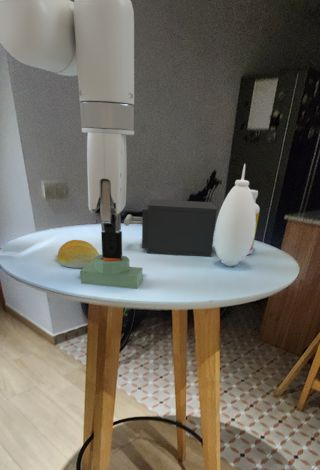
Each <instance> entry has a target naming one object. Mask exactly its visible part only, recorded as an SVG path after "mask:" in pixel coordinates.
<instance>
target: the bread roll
mask: <svg viewBox="0 0 320 470" xmlns="http://www.w3.org/2000/svg"><path fill="white" fill-rule="evenodd" d="M99 255H100V254H99V252H98V250H97V249H96V247H94V245H93V244H91V243H90V242H88V241H85V240H82V239H71V240H68V241H66V242H65V243H63V244H62V245H61V246H60V247H59V249H58V252H57V257H56V258H57V259H56V261H57V263H58V264H59V265H60V266H62V267H65V268H70V269H83V268H84V267H85V266H86V265H87V264H88V263H93V264H94V258H95V257H96V256H99Z"/></svg>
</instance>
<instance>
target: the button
mask: <svg viewBox="0 0 320 470" xmlns="http://www.w3.org/2000/svg"><path fill="white" fill-rule="evenodd" d="M103 260H104V261H120V259H115V258H104V257H103Z"/></svg>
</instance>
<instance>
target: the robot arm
mask: <svg viewBox="0 0 320 470" xmlns="http://www.w3.org/2000/svg"><path fill="white" fill-rule="evenodd" d="M134 12H135V11H134V7H133V3H132V1H131V0H73V1H72V0H0V44H1V46H2V47H3V48H4V50H6V52H7V53H8V54H9V55H10V56H12V57H13V58H14V59H15V60H17V61H18V62H19V63H21V64H23V65H27V66H29V67H33V68H36V69H40V70H44V71H47V72H50V73H52V74H56V75H60V76H64V77H75V76H77V82H78V83H77V84H78V96H79V97H78V98H79V110H80V125H81V133H85V134H87V138H86V139H87V140H86V167H87V168H86V169H87V170H86V172H87V201H88V202H87V203H88V210H89V212H91V213H93V214H94V213H96V212H97V211H98V210H99V212H100V226H101V227H100V228H101V231H100V233H101V234H100V235H101V237H100V238H101V253H102V254H101V255H102V256H103V257H104V258H115V259H120V258H121V256H122V255H123V231H122V211H123V210H124V208H125V207H126V204H127V181H128V180H127V179H128V175H127V174H128V164H127V163H128V161H127V159H128V158H127V153H128V152H127V136H135V13H134Z"/></svg>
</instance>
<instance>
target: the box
mask: <svg viewBox="0 0 320 470" xmlns="http://www.w3.org/2000/svg"><path fill="white" fill-rule="evenodd" d="M143 270H144V269H143V267H137V266H130V258H129V257H128V256H127V255H124V254H122V256H121V258H120V261H104V260H103V256H102V254H99V256H96V257H95V258H94V264H93V263H88V264H87V265H86V266H85V267H84V268H81V269H80V270H79V273H80V284H83V285H84V284H85V285H93V286H94V285H95V286H106V287H116V288H126V289H138V288H139V287H140V284H141V283H142V281H143V272H144V271H143Z"/></svg>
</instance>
